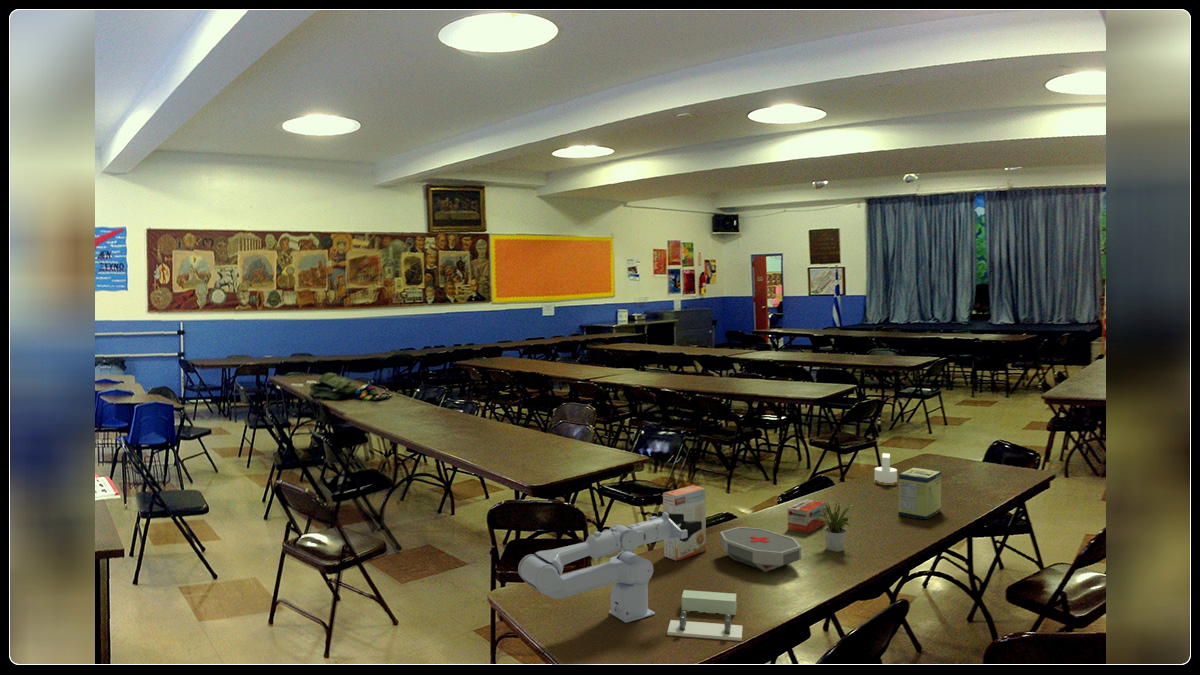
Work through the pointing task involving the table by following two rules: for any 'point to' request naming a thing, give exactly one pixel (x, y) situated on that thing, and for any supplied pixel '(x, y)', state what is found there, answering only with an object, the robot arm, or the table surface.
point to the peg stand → (705, 629)
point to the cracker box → (693, 509)
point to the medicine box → (806, 516)
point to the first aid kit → (760, 547)
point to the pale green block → (709, 602)
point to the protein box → (919, 493)
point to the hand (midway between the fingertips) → (691, 521)
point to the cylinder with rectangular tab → (886, 471)
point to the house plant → (835, 528)
